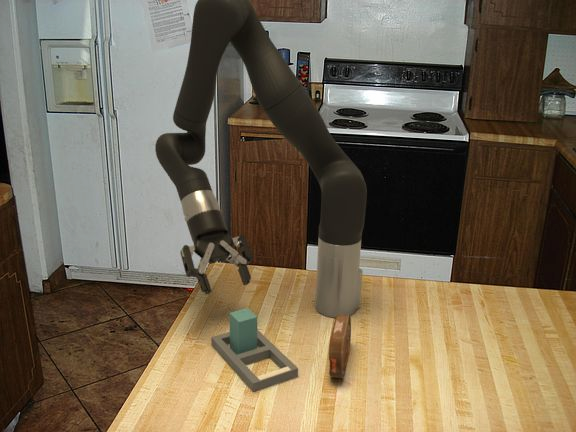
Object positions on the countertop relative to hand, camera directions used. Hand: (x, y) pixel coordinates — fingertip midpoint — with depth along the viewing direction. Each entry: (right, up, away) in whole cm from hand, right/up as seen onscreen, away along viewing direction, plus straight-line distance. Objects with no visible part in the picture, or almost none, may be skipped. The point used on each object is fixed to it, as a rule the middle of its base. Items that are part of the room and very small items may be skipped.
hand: (228, 288), depth 127 cm
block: (+3, -12, -1) cm, 13 cm away
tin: (+22, -14, -5) cm, 26 cm away
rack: (+5, -13, -4) cm, 15 cm away
